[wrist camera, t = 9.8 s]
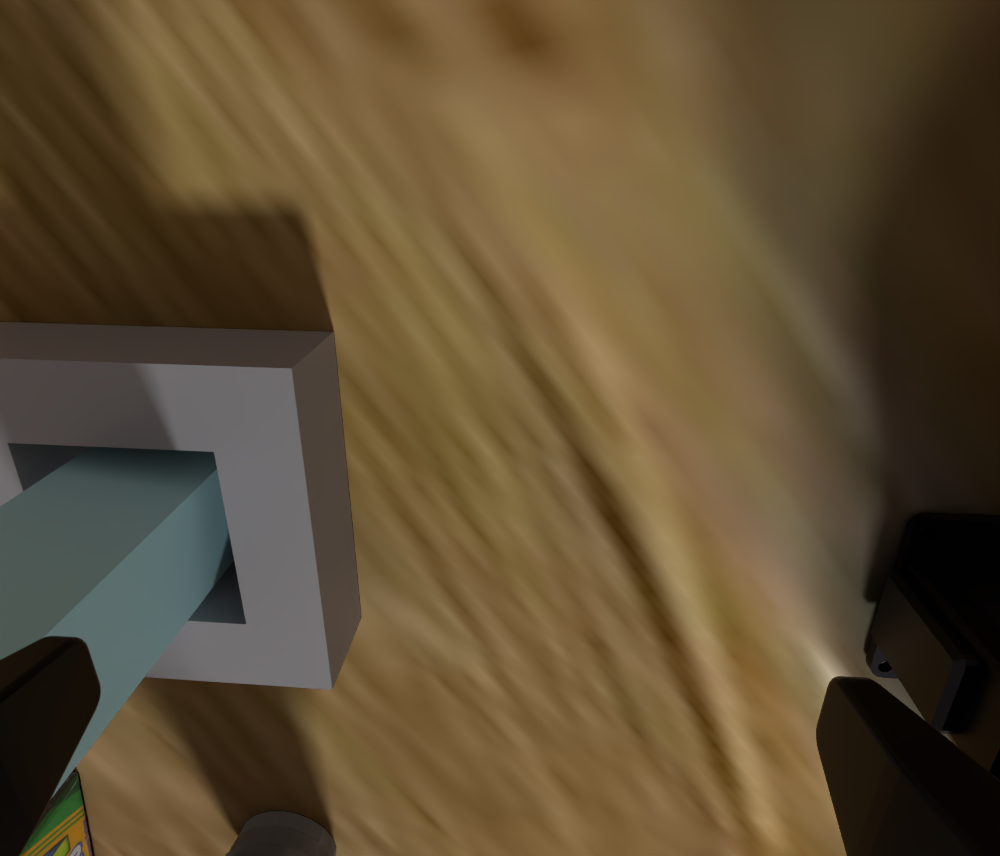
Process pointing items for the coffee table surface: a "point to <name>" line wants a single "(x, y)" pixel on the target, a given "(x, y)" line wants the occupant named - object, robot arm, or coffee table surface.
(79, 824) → the chalk box
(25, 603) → the peg
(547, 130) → the coffee table surface
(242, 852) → the beverage cup
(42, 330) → the socket
